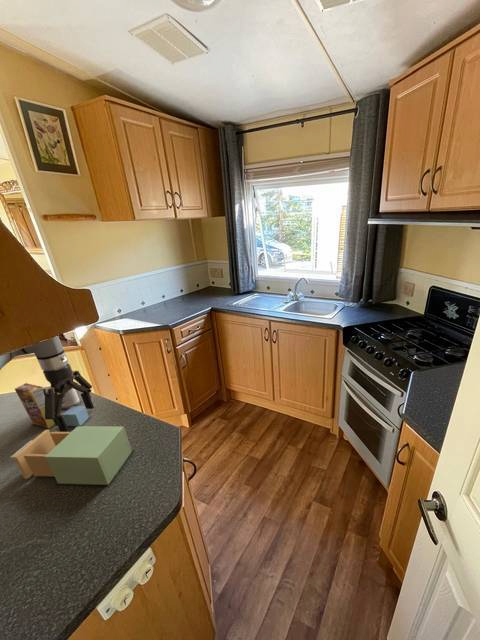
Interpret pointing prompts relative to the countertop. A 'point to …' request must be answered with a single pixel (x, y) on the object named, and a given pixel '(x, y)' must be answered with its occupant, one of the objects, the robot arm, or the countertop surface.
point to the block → (75, 416)
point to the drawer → (37, 454)
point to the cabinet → (89, 455)
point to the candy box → (34, 403)
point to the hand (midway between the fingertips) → (78, 419)
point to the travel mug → (70, 399)
